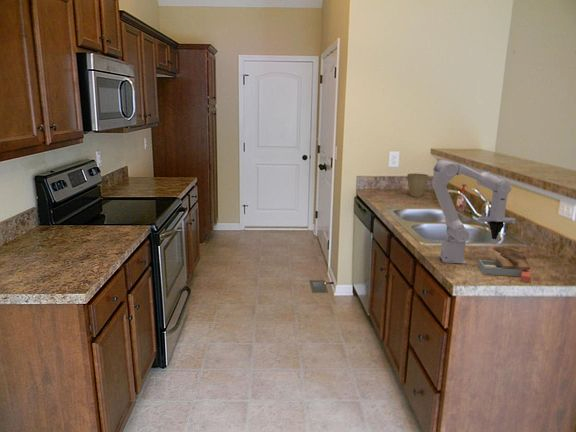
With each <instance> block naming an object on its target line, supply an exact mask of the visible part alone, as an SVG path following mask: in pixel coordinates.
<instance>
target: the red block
mask: <svg viewBox="0 0 576 432" xmlns="http://www.w3.org/2000/svg"><path fill="white" fill-rule="evenodd" d="M531 272H532V269H530V270H525V269H522V274H521V277H520V282H524V283H529V284H530V280H531Z"/></svg>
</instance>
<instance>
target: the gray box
mask: <svg viewBox="0 0 576 432" xmlns="http://www.w3.org/2000/svg"><path fill="white" fill-rule="evenodd" d="M477 268H478V269H479V270H480V271H481V273H482V274H483V275H485V276H486V275H487V276H499V277H500V276H501V277H518V278H521V274H522V269H509V268H502V267H501V266H500V265H499V263H498V262H497V261H496V260H487V259H486V260H485V259H478V262H477Z"/></svg>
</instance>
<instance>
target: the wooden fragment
mask: <svg viewBox="0 0 576 432" xmlns="http://www.w3.org/2000/svg"><path fill="white" fill-rule="evenodd" d="M492 249H493V250H495V251H497V252H498V253H500V256H501V257H503V258H505V259H508V256H512V257H513V258H514V259H517V260H522V261H524V262H525V263H526V264H527V265H528V266H530V264H529V263H530V262H529V261H528V260H527V258H526V256H525V255H524V253H523V252H521V251H518V250H515V249H512V248H509V247H506V246H504V245H499V246H495V247H493V248H492Z"/></svg>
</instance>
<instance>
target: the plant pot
mask: <svg viewBox="0 0 576 432" xmlns="http://www.w3.org/2000/svg"><path fill="white" fill-rule="evenodd" d="M406 175H407V185H408V190H409V193H410V196H411V197H413V196H415V197H414V198H422V196H423V194H424V192H425V189H426V186H427V183H428V180H429V176H430V175H429V174H425V173H417V172H416V173H407V174H406Z"/></svg>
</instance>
